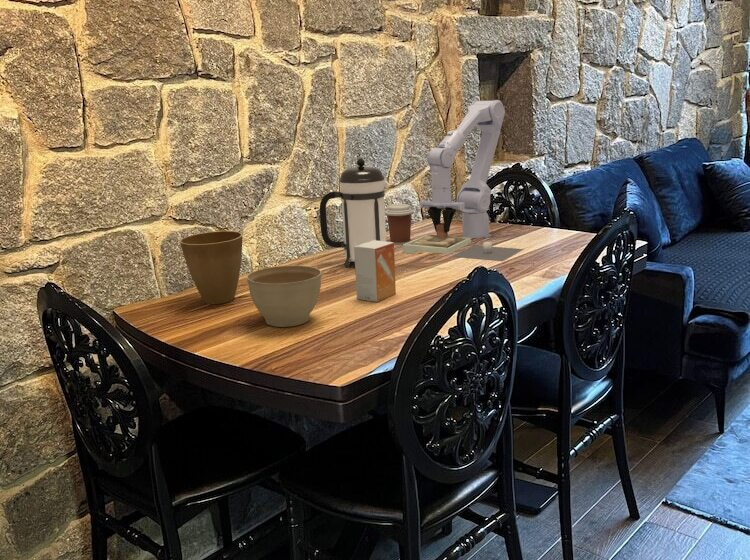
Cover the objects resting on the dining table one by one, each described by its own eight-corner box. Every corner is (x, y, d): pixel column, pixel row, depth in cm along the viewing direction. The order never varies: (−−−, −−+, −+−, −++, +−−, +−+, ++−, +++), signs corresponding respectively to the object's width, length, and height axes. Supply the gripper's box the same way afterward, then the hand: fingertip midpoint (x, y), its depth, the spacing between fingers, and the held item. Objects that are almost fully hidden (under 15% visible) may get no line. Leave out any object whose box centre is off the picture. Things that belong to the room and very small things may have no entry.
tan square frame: (430, 237, 226) (429, 222, 225) (458, 239, 221) (458, 224, 220) (414, 245, 218) (413, 229, 217) (444, 248, 213) (443, 231, 212)
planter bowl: (314, 333, 149) (310, 283, 147) (240, 332, 152) (235, 283, 149) (332, 310, 165) (329, 264, 162) (265, 310, 168) (260, 264, 165)
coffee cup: (380, 243, 232) (378, 207, 229) (398, 238, 239) (396, 202, 236) (402, 246, 227) (401, 209, 223) (420, 241, 233) (418, 204, 230)
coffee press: (371, 254, 218) (366, 154, 210) (402, 263, 205) (397, 157, 197) (322, 264, 209) (314, 160, 201) (350, 274, 196) (343, 163, 188)
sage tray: (426, 242, 231) (426, 234, 230) (471, 246, 222) (471, 238, 222) (402, 252, 218) (402, 244, 217) (448, 256, 210) (448, 248, 209)
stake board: (473, 248, 219) (473, 235, 218) (524, 252, 211) (524, 239, 210) (450, 259, 206) (450, 246, 205) (502, 264, 198) (502, 250, 197)
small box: (377, 302, 169) (374, 248, 165) (356, 299, 172) (353, 246, 169) (396, 294, 175) (394, 241, 172) (375, 290, 179) (373, 239, 175)
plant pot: (214, 289, 187) (207, 229, 183) (260, 294, 180) (254, 232, 176) (174, 305, 175) (166, 241, 170) (222, 311, 168) (215, 245, 164)
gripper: (414, 188, 219) (415, 232, 223) (457, 190, 212) (457, 235, 215) (425, 185, 225) (426, 228, 228) (467, 187, 217) (468, 231, 221)
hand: (442, 231), depth 222 cm, fingers closed on tan square frame, 2 cm apart
